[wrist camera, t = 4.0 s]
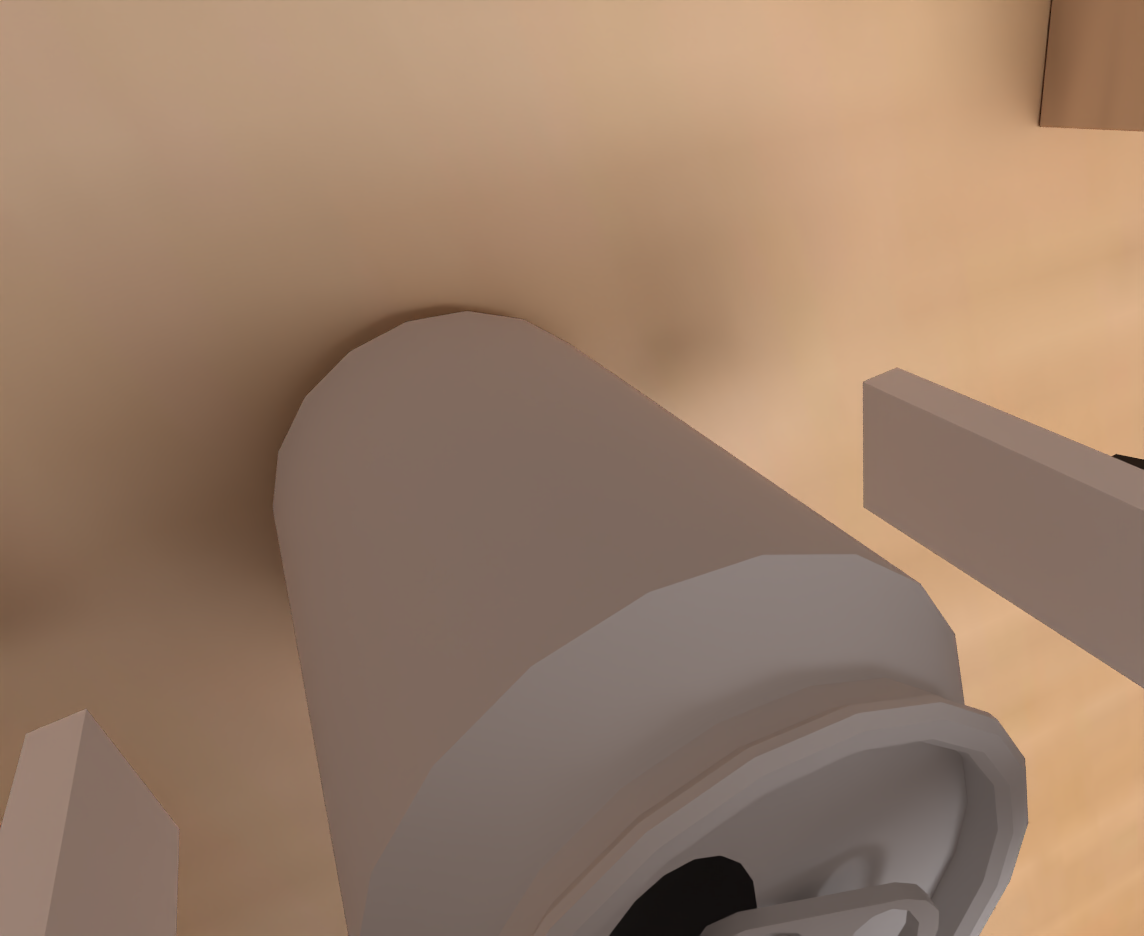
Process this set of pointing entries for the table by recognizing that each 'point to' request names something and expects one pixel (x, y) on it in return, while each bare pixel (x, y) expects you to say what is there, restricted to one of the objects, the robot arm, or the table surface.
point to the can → (613, 669)
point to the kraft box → (1095, 65)
